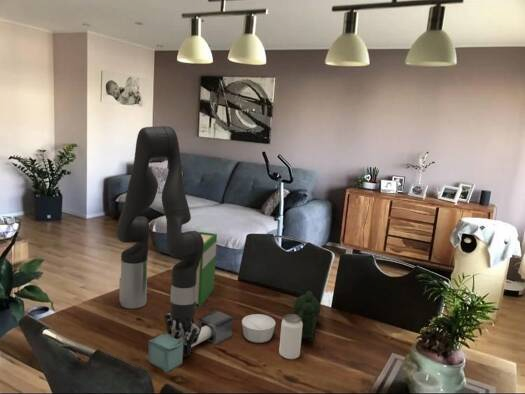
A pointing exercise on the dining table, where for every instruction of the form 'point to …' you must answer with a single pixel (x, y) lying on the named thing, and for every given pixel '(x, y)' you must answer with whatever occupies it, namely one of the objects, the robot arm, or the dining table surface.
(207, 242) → the hardback book
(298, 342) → the can
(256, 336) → the ramekin
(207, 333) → the tube
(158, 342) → the socket
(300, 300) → the dark green lumpy piece
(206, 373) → the dining table surface
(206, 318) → the sleeve
